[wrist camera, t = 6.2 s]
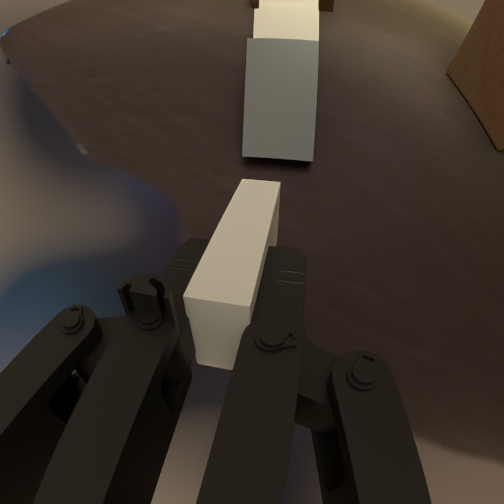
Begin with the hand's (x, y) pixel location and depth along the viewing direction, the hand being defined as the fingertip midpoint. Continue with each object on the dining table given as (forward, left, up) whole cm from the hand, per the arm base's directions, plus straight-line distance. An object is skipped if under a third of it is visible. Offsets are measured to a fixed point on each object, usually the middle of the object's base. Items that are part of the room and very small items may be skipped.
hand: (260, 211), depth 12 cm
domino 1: (-2, -6, -8) cm, 11 cm away
